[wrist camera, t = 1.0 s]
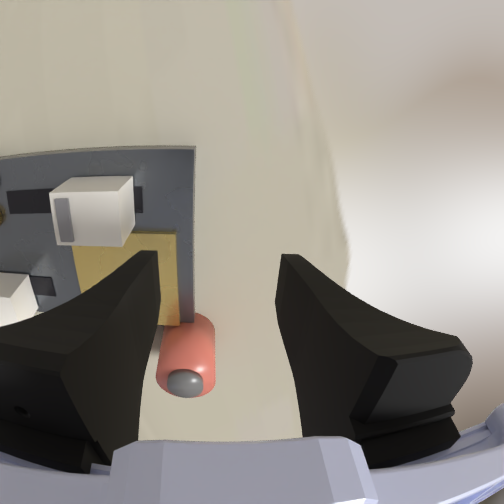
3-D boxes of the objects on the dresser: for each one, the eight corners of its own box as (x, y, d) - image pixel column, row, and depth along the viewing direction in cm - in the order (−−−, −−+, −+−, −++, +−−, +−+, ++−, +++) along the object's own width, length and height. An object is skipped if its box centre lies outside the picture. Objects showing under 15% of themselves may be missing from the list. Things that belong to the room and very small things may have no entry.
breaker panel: (194, 312, 24) (193, 328, 22) (14, 299, 22) (5, 311, 20) (195, 146, 18) (193, 151, 17) (-16, 159, 16) (-31, 166, 15)
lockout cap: (214, 350, 26) (215, 405, 21) (166, 348, 25) (158, 402, 20) (215, 312, 24) (215, 368, 19) (161, 310, 23) (151, 365, 18)
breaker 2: (135, 224, 19) (121, 248, 16) (76, 223, 18) (55, 246, 15) (132, 175, 17) (116, 192, 14) (71, 177, 17) (47, 194, 14)
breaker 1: (38, 307, 21) (21, 334, 18) (2, 303, 20) (-16, 327, 17) (28, 274, 19) (8, 299, 17) (-9, 271, 19) (-29, 294, 16)
